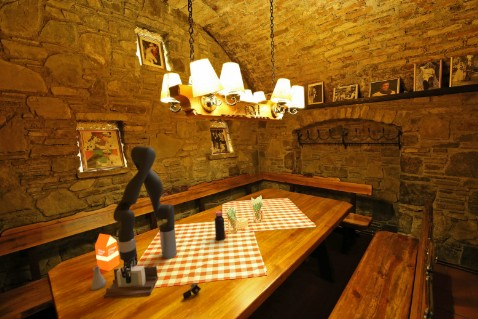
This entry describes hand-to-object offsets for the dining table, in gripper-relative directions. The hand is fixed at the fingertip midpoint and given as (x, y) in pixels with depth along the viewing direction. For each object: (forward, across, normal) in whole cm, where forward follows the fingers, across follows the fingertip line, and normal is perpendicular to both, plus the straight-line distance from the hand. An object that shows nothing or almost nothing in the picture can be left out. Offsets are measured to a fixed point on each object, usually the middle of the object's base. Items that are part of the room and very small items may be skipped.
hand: (131, 278), depth 115 cm
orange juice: (+5, +22, +23) cm, 32 cm away
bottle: (+5, +48, -43) cm, 65 cm away
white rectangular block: (+4, 0, 0) cm, 4 cm away
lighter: (+5, -9, -32) cm, 33 cm away
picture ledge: (+5, 0, 0) cm, 5 cm away
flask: (+5, +4, +19) cm, 20 cm away
